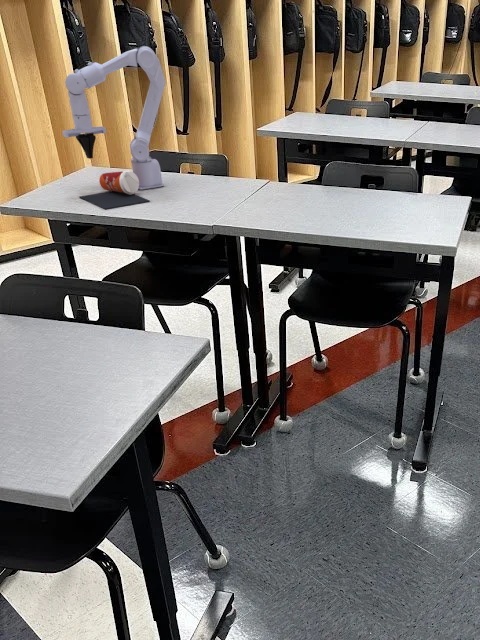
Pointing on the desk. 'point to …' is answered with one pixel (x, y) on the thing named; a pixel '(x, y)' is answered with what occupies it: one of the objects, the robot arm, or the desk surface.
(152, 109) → the robot arm
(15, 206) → the desk surface
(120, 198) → the desk mat
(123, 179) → the paper cup
